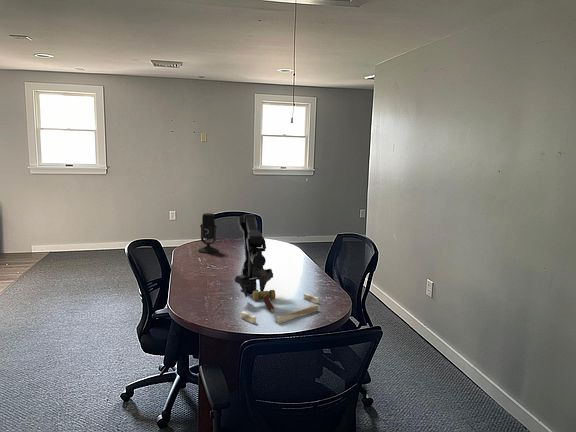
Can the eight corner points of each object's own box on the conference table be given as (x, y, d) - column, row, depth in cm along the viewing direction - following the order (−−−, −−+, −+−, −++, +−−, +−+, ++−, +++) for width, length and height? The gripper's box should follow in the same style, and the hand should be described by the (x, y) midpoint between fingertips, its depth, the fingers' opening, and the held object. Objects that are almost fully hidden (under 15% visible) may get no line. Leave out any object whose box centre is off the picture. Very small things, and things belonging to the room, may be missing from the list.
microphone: (194, 252, 303) (194, 214, 299) (203, 248, 316) (204, 212, 312) (212, 254, 299) (213, 216, 295) (221, 250, 312) (222, 213, 308)
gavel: (284, 306, 197) (261, 307, 194) (284, 316, 198) (261, 317, 195) (273, 288, 216) (252, 289, 214) (273, 297, 217) (252, 298, 215)
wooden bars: (240, 317, 189) (240, 312, 189) (305, 298, 216) (305, 293, 216) (263, 328, 179) (264, 322, 179) (329, 306, 206) (329, 301, 206)
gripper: (250, 268, 198) (249, 303, 201) (281, 262, 211) (280, 295, 214) (234, 263, 206) (233, 297, 208) (265, 257, 219) (264, 289, 221)
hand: (254, 294), depth 213 cm, fingers open, 9 cm apart
